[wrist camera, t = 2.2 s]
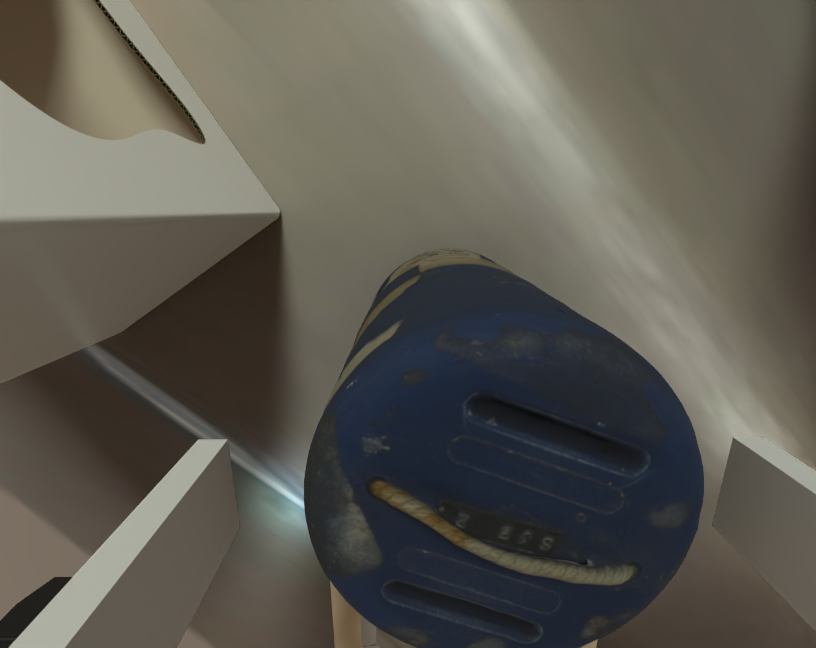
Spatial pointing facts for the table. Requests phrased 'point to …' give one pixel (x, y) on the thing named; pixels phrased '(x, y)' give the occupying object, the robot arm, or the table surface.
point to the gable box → (104, 179)
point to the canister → (497, 466)
